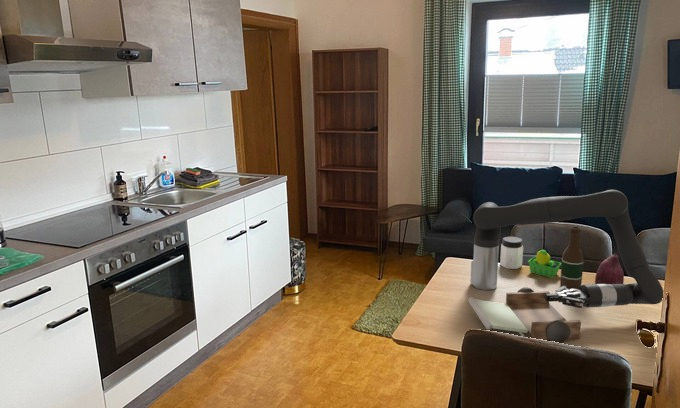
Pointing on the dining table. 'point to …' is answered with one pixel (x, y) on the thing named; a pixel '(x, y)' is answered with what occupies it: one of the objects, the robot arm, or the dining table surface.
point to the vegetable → (610, 271)
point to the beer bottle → (572, 262)
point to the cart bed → (541, 316)
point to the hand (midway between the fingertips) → (545, 297)
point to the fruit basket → (544, 265)
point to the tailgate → (497, 315)
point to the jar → (511, 252)
